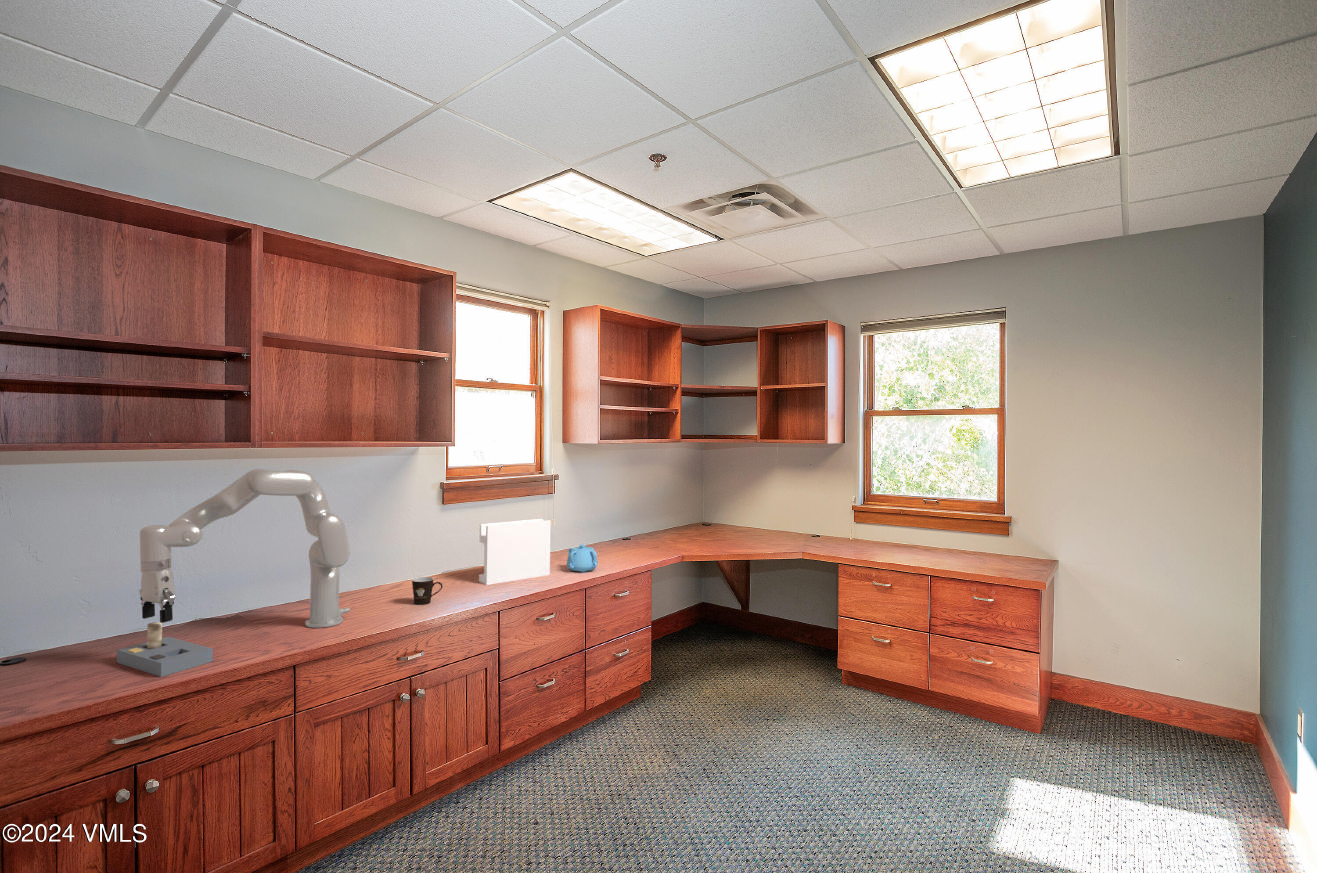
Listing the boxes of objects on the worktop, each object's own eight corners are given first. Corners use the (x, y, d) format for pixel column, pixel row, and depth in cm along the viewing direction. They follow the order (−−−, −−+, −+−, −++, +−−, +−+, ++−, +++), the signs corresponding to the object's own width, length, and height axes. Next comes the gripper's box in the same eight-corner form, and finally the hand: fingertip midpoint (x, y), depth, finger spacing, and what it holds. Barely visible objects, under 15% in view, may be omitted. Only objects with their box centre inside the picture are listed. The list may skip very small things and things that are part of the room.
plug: (157, 652, 198) (158, 621, 198) (164, 654, 197) (164, 623, 197) (144, 656, 195) (144, 624, 195) (150, 658, 194) (151, 626, 194)
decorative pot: (597, 573, 326) (598, 547, 326) (566, 573, 324) (566, 547, 324) (597, 567, 342) (597, 542, 342) (567, 567, 340) (568, 542, 340)
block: (486, 585, 298) (487, 526, 297) (478, 581, 304) (479, 524, 303) (549, 574, 321) (550, 520, 321) (541, 572, 327) (542, 518, 327)
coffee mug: (406, 604, 262) (407, 580, 262) (420, 599, 270) (421, 576, 270) (429, 607, 258) (430, 583, 258) (443, 602, 266) (443, 578, 266)
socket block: (168, 648, 205) (168, 635, 205) (212, 661, 195) (212, 647, 195) (116, 662, 192) (116, 648, 192) (161, 676, 182) (161, 662, 182)
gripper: (185, 565, 196) (186, 619, 196) (154, 560, 203) (155, 612, 204) (158, 570, 189) (159, 627, 190) (126, 565, 196) (128, 619, 197)
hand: (157, 619), depth 197 cm, fingers open, 9 cm apart
